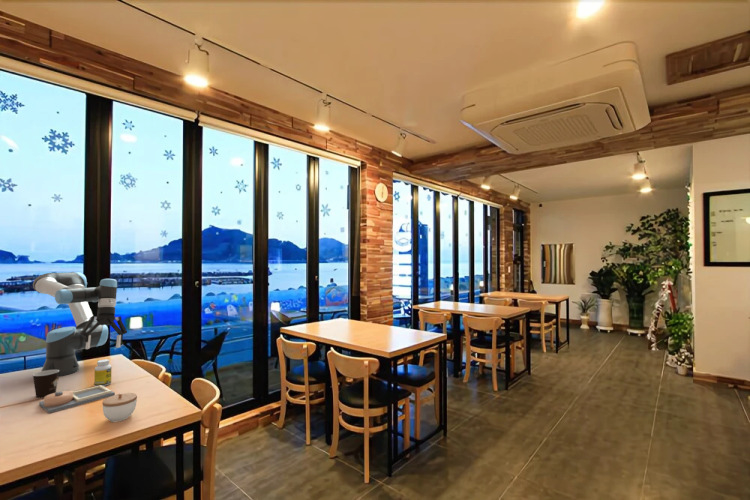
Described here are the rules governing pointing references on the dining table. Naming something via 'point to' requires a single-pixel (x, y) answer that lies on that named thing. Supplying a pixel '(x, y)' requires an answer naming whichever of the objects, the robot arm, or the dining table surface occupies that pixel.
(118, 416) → the lidded jar
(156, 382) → the dining table surface
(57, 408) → the board
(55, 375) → the dark brown tapered cup
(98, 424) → the dining table surface
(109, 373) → the pill bottle
